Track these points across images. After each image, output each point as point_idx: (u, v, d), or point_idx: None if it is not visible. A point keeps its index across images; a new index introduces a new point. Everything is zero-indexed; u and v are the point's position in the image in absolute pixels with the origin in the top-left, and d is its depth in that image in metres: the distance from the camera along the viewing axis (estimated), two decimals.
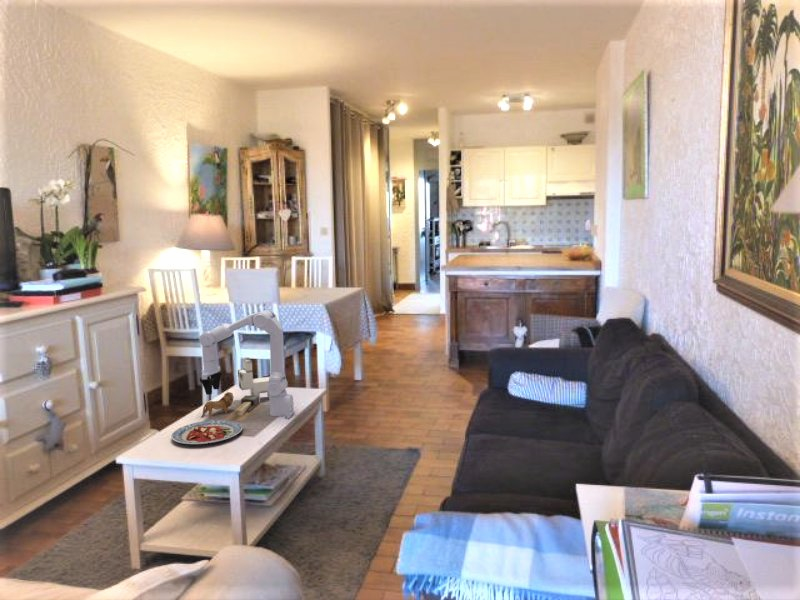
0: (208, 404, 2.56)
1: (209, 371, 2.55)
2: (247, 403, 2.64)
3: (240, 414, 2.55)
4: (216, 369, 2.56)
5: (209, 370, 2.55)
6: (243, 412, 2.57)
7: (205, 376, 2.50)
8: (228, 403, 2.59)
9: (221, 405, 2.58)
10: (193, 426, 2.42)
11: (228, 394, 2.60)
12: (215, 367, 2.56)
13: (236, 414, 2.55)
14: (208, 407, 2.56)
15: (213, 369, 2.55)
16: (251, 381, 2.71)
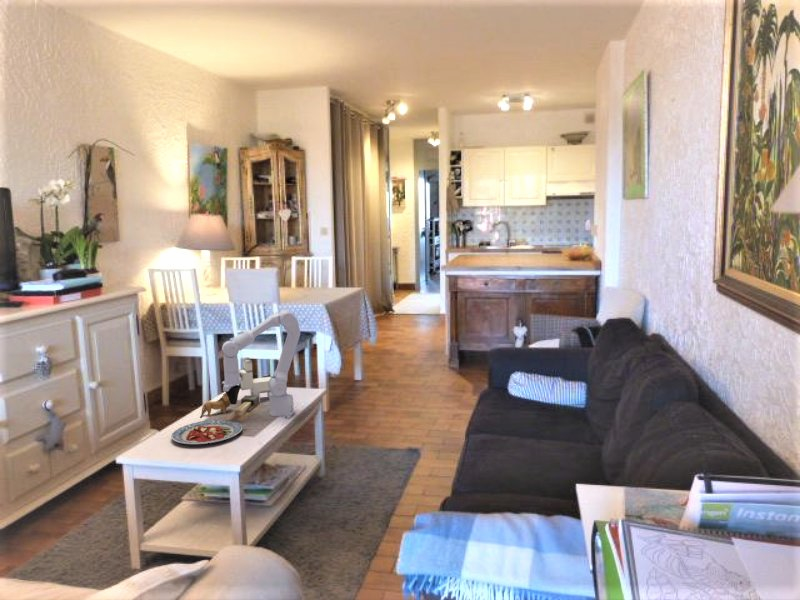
0: (207, 404, 2.56)
1: (230, 383, 2.46)
2: (247, 403, 2.64)
3: (240, 414, 2.55)
4: (237, 381, 2.48)
5: (231, 382, 2.46)
6: (243, 412, 2.57)
7: (227, 388, 2.42)
8: (227, 403, 2.59)
9: (220, 405, 2.58)
10: (193, 425, 2.42)
11: None
12: (236, 378, 2.47)
13: (236, 414, 2.55)
14: (207, 407, 2.56)
15: (234, 381, 2.46)
16: (251, 381, 2.71)
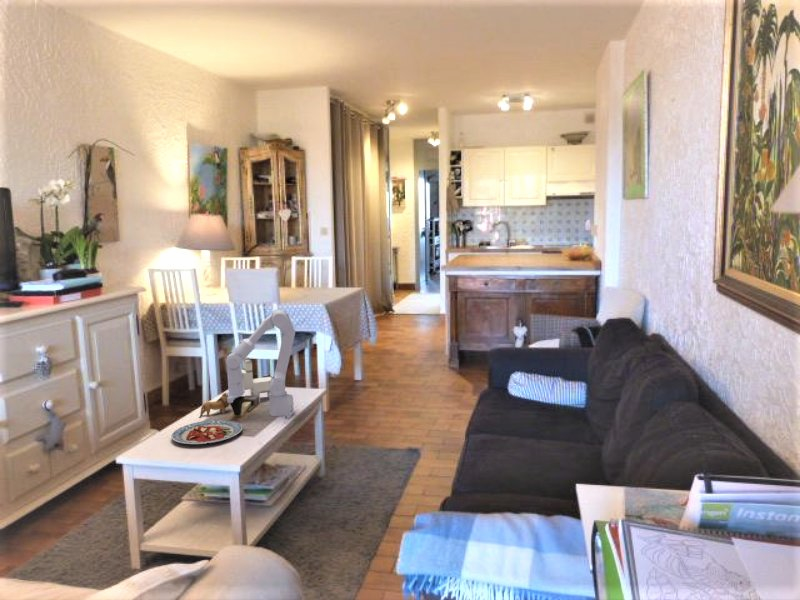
0: (206, 404, 2.55)
1: (234, 394, 2.50)
2: (247, 403, 2.64)
3: (240, 414, 2.55)
4: (241, 392, 2.52)
5: (235, 393, 2.50)
6: (243, 412, 2.57)
7: (231, 399, 2.46)
8: (226, 403, 2.59)
9: (219, 405, 2.58)
10: (193, 425, 2.42)
11: None
12: (240, 390, 2.51)
13: None
14: (206, 407, 2.55)
15: (238, 392, 2.50)
16: (251, 381, 2.71)
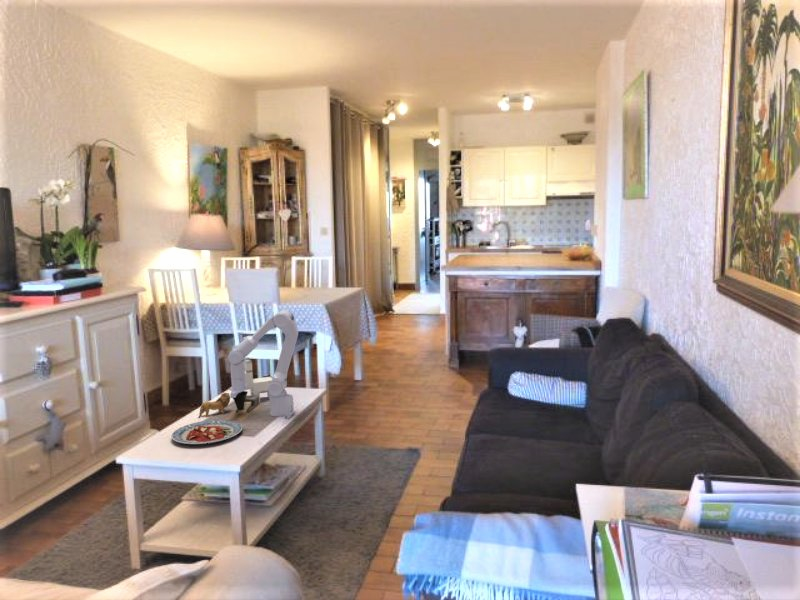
0: (205, 405, 2.55)
1: (237, 389, 2.53)
2: None
3: (243, 411, 2.58)
4: (244, 387, 2.55)
5: (238, 388, 2.53)
6: (246, 409, 2.60)
7: (234, 394, 2.49)
8: (225, 403, 2.59)
9: (218, 405, 2.57)
10: (193, 425, 2.42)
11: (225, 394, 2.60)
12: (243, 385, 2.54)
13: (239, 411, 2.59)
14: (205, 408, 2.55)
15: (241, 387, 2.54)
16: (251, 381, 2.71)
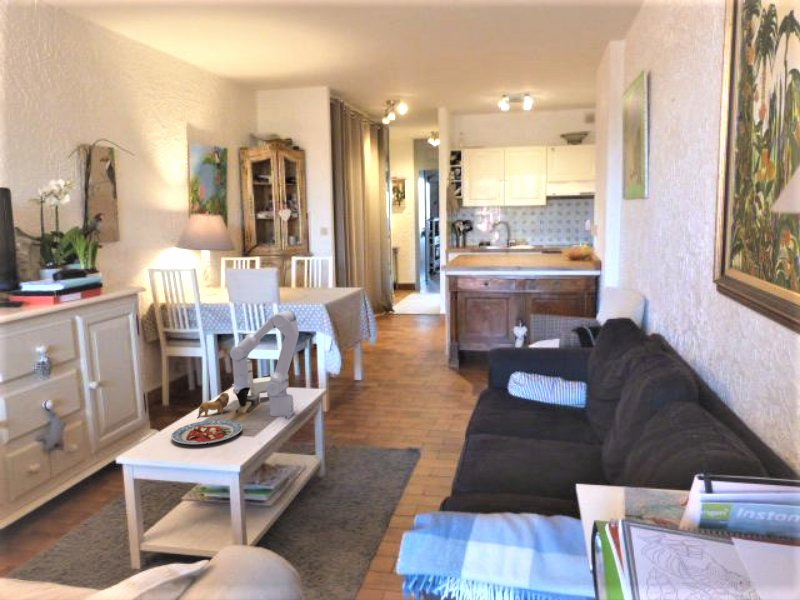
0: (204, 405, 2.55)
1: (240, 385, 2.56)
2: None
3: (243, 411, 2.58)
4: (247, 383, 2.58)
5: (240, 384, 2.56)
6: (246, 409, 2.60)
7: (236, 390, 2.52)
8: (224, 404, 2.59)
9: (217, 406, 2.57)
10: (194, 425, 2.42)
11: (224, 394, 2.60)
12: (246, 381, 2.57)
13: (239, 411, 2.59)
14: (204, 408, 2.55)
15: (244, 383, 2.57)
16: (251, 381, 2.71)
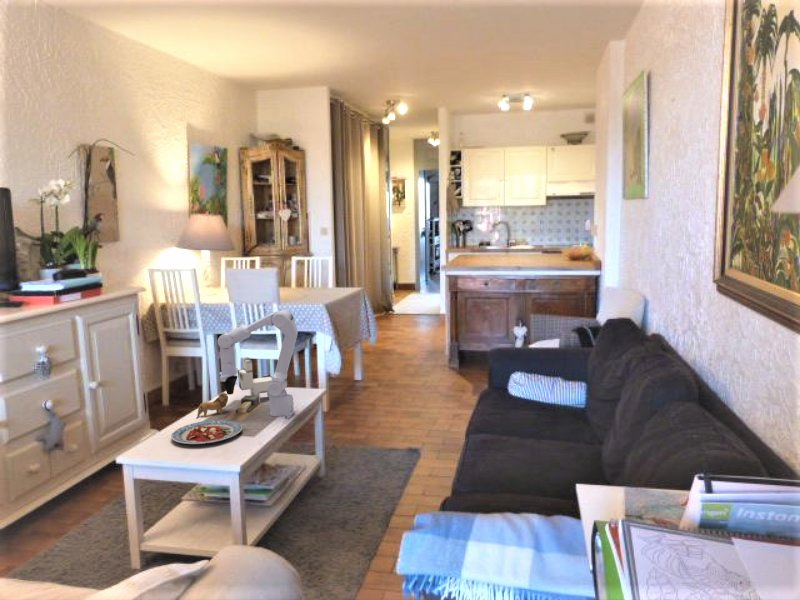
0: (203, 405, 2.55)
1: (227, 373, 2.53)
2: None
3: (243, 411, 2.58)
4: (234, 371, 2.55)
5: (227, 372, 2.53)
6: (246, 409, 2.60)
7: (223, 378, 2.49)
8: (223, 404, 2.59)
9: (216, 406, 2.57)
10: (194, 425, 2.42)
11: (223, 395, 2.60)
12: (233, 369, 2.54)
13: (239, 411, 2.59)
14: (203, 408, 2.55)
15: (231, 371, 2.54)
16: (251, 381, 2.71)
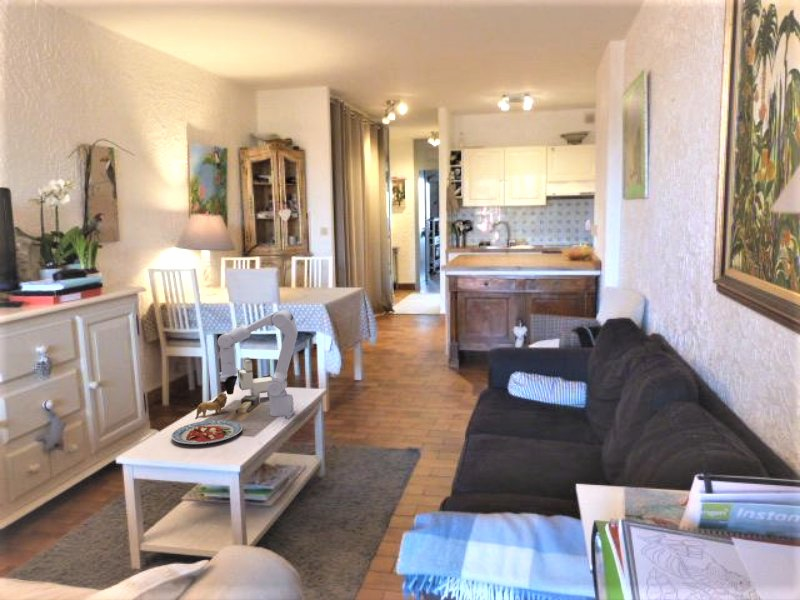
0: (202, 405, 2.54)
1: (227, 373, 2.53)
2: None
3: (243, 411, 2.58)
4: (234, 371, 2.55)
5: (227, 372, 2.53)
6: (246, 409, 2.60)
7: (223, 378, 2.49)
8: (222, 404, 2.58)
9: (215, 406, 2.57)
10: (194, 425, 2.42)
11: (222, 395, 2.60)
12: (233, 369, 2.54)
13: (239, 411, 2.59)
14: (202, 408, 2.54)
15: (231, 371, 2.54)
16: (251, 381, 2.71)
